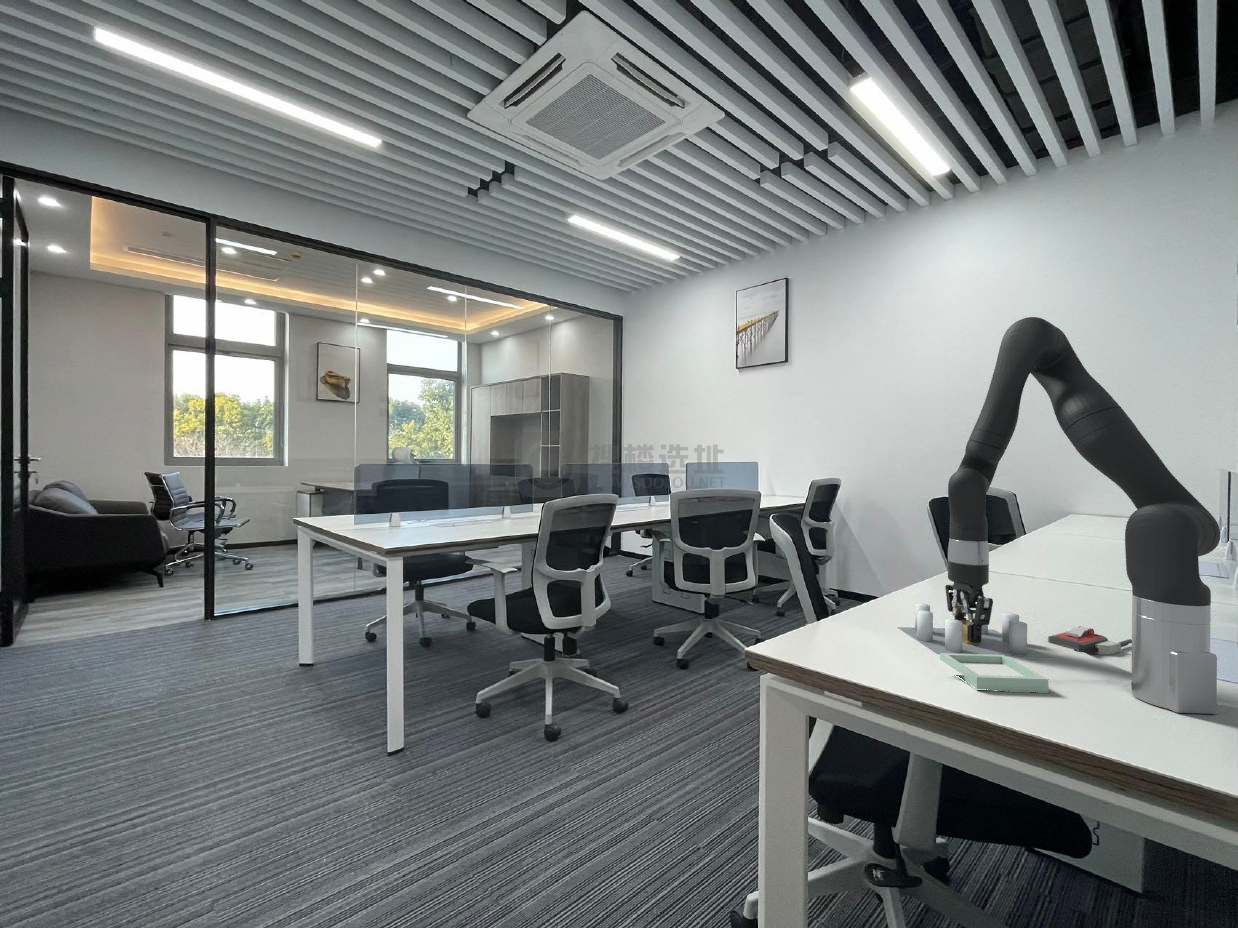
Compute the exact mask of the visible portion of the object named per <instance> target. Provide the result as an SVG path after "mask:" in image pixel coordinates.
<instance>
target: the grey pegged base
mask: <svg viewBox="0 0 1238 928" xmlns="http://www.w3.org/2000/svg"><path fill="white" fill-rule="evenodd" d="M914 610H915V611H914V617H915V618H914V627H912V626H911V627H910V626H909V627H906V626H905V627H903V626H900V627H899V626H896V627H897V629H899V630H900V631H902V632H903V633H904V634H906V635H908V636H909V637H910V638H912V639H914V640H915V641H917V642H918V643H920V644H921V645H922V646H924V647H925V648H927V649H928V650H930V651H932V652H933V653H935V654H936V655H940V653H956V654H991V655H1005V656H1006V657H1019V658H1020V657H1021V658H1022V657H1023V658H1024V657H1026V658H1030V657H1031V658H1050V656H1049V655H1047V654H1045V653H1043V652H1042V651H1041V652H1040V651H1039V650H1037V649H1035V648H1033V647H1030V646H1029V645H1028V623H1027V622H1023V621H1020V615H1019V614H1018V613H1017V614H1016V613H1013V612H1002V613H1001V632H999V631H997V630H996V629H989V625H982V639H981V642H980V644H965V643H962V622H961V621H959V620H954V619H953V618H951V619H950V618H946V619H945V620H944V621H945V622H944V623H945V624H944V626H945V627H944V628H943V627H934V612H932V611H931V605H930V604H927V603H922V602H921V603H920V602H917V603H915V604H914ZM971 610H976V608H971ZM984 616H985V615H983V619H984ZM973 617H975V614H973Z"/></svg>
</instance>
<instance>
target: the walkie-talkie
mask: <svg viewBox="0 0 1238 928" xmlns="http://www.w3.org/2000/svg"><path fill="white" fill-rule="evenodd" d="M1047 642H1048V643H1049V644H1052V645H1056V646H1060V647H1067V648H1070V649H1072V650H1073V651H1074V652H1077V653H1084V654H1086V655H1089V656H1091V655H1093V654H1096V655H1107V656H1110V655H1114V654H1119V653H1121V650H1122V649H1121V648H1124V647H1127V646H1129V645H1130V644H1132V638H1129V639H1125V640H1122V641H1118V642H1117V641H1112V640H1109V638H1108V637H1106V636H1104V635H1101V634H1098V633H1095V630H1094V628H1090V627H1085V626H1081V625H1080V626H1076V627H1072V628H1071V630H1070V631H1069V630H1068V631H1067V630H1066V631H1064V632H1062V633H1057V634H1053V635H1050V636H1047Z"/></svg>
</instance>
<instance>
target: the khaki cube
mask: <svg viewBox="0 0 1238 928" xmlns="http://www.w3.org/2000/svg"><path fill="white" fill-rule="evenodd" d="M959 621H961V622H962V643H965V644H980V643H972V642H970V641H969V619H966V620H959Z"/></svg>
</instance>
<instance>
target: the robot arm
mask: <svg viewBox="0 0 1238 928" xmlns="http://www.w3.org/2000/svg"><path fill="white" fill-rule="evenodd" d="M997 353H998V354H997V358H996V362H995V367H994V370H993V374H992V377H991V380H990V384H989V387H988V390H987V393H986V397H985V400H984V403H983V405H982V407H981V410H980V413H979V414H978V417H977V421H976V423H975V424H974V426H973V429H972V431H971V433H970V435H969V438H968V440H967V443H966V445H965V453H964V456H963V458H962V459H961V462H960V464H959V467H958V468H957V470H956V471H955V472H953V474H952V475H951V476H950V477H949V480H948V485H947V495H948V496H947V497H948V498H947V499H948V507H949V515H950V516H949V541H948V545H947V546H948V547H947V579H948V580H949V581H950V582H953V584H946V585H945V587H944V588H945V595H946V597H945V598H946V605H947V610H948V612H950V613H951V615H952V617H954V620H969V641H970V642H972V643H980V642H981V639H982V625H988V626H989V625H990V622H991V616H992V612H993V604H994V599H993V598H990V597H986V596H985V594H984V591H983V586H984V585H987V584H989V580H990V572H989V571H990V564H989V563H990V551H989V541H988V540H989V538H988V537H989V535H988V534H989V532H988V531H989V527H988V518H987V516H986V506H987V504H986V503H987V502H986V501H987V493H988V491H989V489H990V487H991V484H992V482H993V479H994V477H995V473H996V471H997V468H998V465H999V463H1000V460H1001V459H1002V457H1003V456H1004V455H1005V452H1006V450H1007V448H1008V446H1009V444H1010V442H1011V440H1012V437H1013V435H1014V433H1015V430H1016V427H1017V425H1018V424H1017V423H1018V420H1019V413H1020V409H1021V408H1020V406H1021V401H1022V395H1023V392H1024V387H1025V385H1026V382H1027V381H1028V378H1029V376H1030V374H1031V375H1032V377H1034V378H1035V380H1036V381H1037V382H1038V384H1040V385H1041V387H1042V388H1043V390H1044V391H1045V392H1046V394H1047V395H1048V397H1049V400H1050V403H1051V405H1052V409H1053V411H1054V415H1055V417H1056V421H1057V423H1058V425H1059V426H1060V428H1061V430H1062V431H1063V433H1064V434H1065V436H1066V438H1067V439H1068V440H1069V442H1070V443H1071V444H1072V446H1073V448H1075V450H1076V452H1077V453H1078V454H1079V455H1080V456H1081V457H1082V458H1083V459H1084V460H1085V461H1087V463H1089V464H1090V465H1091V466H1092V467H1094V468H1095V469H1096V470H1097V471H1099V472H1100V473H1101V474H1103V475H1104V476H1105V477H1107V478H1108V479H1109V480H1111V481H1112V482H1113V483H1114V484H1115V485H1116V486H1118V487H1119V488H1120V489H1121V490H1122V492H1124V493H1125V494H1126V496H1127V497H1128V498H1129V499H1130V500H1131V502H1132V504H1133V505H1134V507H1135V508H1136V510H1135V511H1134V512H1132V514H1130V516H1129V517H1128V519H1127V521H1126V524H1125V530H1124V551H1125V569H1126V570H1125V571H1126V574H1127V577H1128V580H1129V582H1130V584H1131V587H1132V588H1131V589H1132V590H1131V592H1132V593H1131V597H1132V599H1131V604H1132V605H1131V610H1132V611H1131V640H1132V643H1131V694H1132V696H1133V697H1135V698H1137V699H1138V700H1140V701H1142V702H1145V703H1148V704H1151V705H1153V706H1156V707H1160V708H1164V709H1166V710H1171V711H1173V712H1174V713H1177V714H1178V713H1181V714H1184V713H1185V714H1205V715H1206V714H1207V715H1209V714H1210V715H1217V712H1218V711H1217V703H1218V702H1217V701H1218V699H1217V698H1218V697H1217V696H1218V695H1217V693H1218V692H1217V690H1218V686H1217V685H1218V657H1217V655H1216V653H1213V652H1211V620H1212V619H1211V617H1212V616H1211V614H1212V613H1211V612H1212V611H1211V609H1212V608H1211V603H1212V592H1211V591H1212V590H1211V589H1210V587H1209V586H1208V585H1207V584H1205V583H1204V582H1203V580H1202V579H1201V576H1200V569H1199V568H1200V566H1199V565H1200V563H1199V557H1202V556H1206V555H1208V554H1211V552H1213V551H1214V550H1216V548H1217V547H1218V545H1219V543H1220V541H1221V534H1222V533H1221V530H1220V529H1221V528H1220V525H1219V523H1218V521H1217V519H1216V518H1215V517H1214V516H1213V514H1212V513H1211V512H1210V511H1209V510H1208V509H1207V508H1206V507H1205V506H1204V505H1203V504H1202V503H1201V502H1200V501H1199V500H1198V499H1197V498H1196V497H1195V496H1194V495H1193V494H1192V493H1191V492H1190V491H1189V490H1188V489H1187V488H1186V487H1185V486H1184V485H1183V484H1182V483H1181V482H1180V481H1179V480H1178V479H1177V478H1176V477H1175V476H1174V474H1173V473H1172V472H1171V471H1170V469H1168V467H1167V466H1166V465H1165V463H1164V462H1163V460H1162V459H1161V458H1160V456H1159V455H1158V453H1157V452H1156V451H1155V449H1154V448H1153V447H1152V445H1150V443H1149V442H1148V440H1147V439H1146V438H1145V437H1144V435H1143V434H1142V432H1140V430H1139V429H1138V427H1137V426H1136V424H1135V423H1134V422H1133V420H1132V419H1131V418H1130V417H1129V415H1128V414H1127V413H1126V412H1125V410H1124V409H1123V407H1122V406H1121V405H1119V403H1118V402H1117V401H1116V400H1115V399H1114V398H1113V396H1112V395H1111V394H1110V393H1109V392H1108V390H1106V389H1105V388H1104V387H1103V386H1102V385H1101V384H1100V383H1099V382H1098V381H1097V380H1096V379H1095V378H1094V377H1093V376H1092V375H1090V373H1089V372H1088V370H1087V369H1086V367H1085V366H1084V365H1083V364H1082V362H1081V360H1080V358H1079V357H1078V354H1077V353H1076V352H1075V350H1074V347H1072V345H1071V343H1070V341H1069V339H1068V337H1067V336H1066V333H1064V332H1063V331H1062V330H1061V329H1060V328H1059V327H1057V326H1056V325H1054V324H1052V323H1051V322H1049V321H1048V320H1046V319H1044V318H1042V317H1038V316H1037V317H1036V316H1029V317H1024V318H1021V319H1019V320H1017V321H1015V322H1014V323H1012V324H1011V325H1010V326H1009V327H1008V328H1007V329H1006V331H1005V332H1004V334H1003V337H1002V339H1001V342H1000V346H999V349H998V352H997ZM972 608H976V610H972ZM973 614H975V617H973ZM983 615H985V616H984V619H983ZM966 617H967V618H966Z"/></svg>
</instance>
